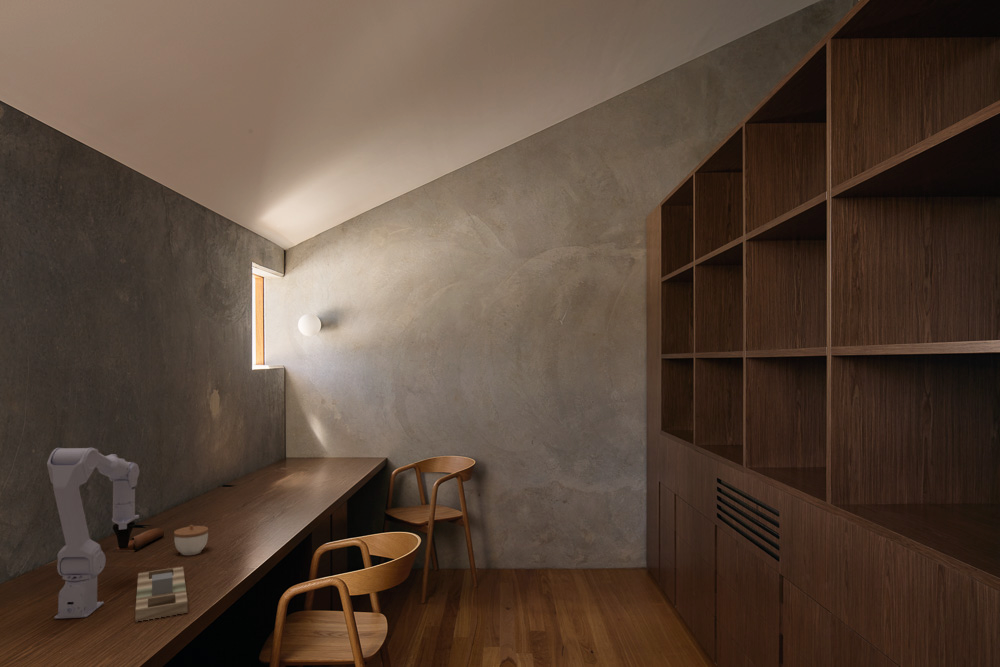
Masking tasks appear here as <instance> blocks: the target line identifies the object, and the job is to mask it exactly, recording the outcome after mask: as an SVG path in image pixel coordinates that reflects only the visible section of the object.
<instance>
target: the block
mask: <svg viewBox="0 0 1000 667" xmlns="http://www.w3.org/2000/svg"><path fill="white" fill-rule="evenodd" d="M172 592H173V575H172V572H170V573H163V574H157V575H152V596H153V595H159V594H166V593H172Z"/></svg>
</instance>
